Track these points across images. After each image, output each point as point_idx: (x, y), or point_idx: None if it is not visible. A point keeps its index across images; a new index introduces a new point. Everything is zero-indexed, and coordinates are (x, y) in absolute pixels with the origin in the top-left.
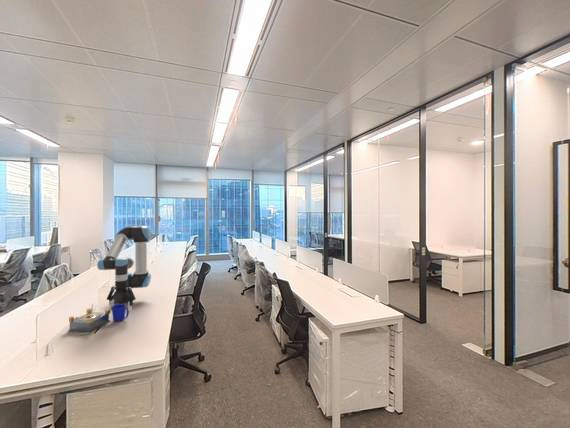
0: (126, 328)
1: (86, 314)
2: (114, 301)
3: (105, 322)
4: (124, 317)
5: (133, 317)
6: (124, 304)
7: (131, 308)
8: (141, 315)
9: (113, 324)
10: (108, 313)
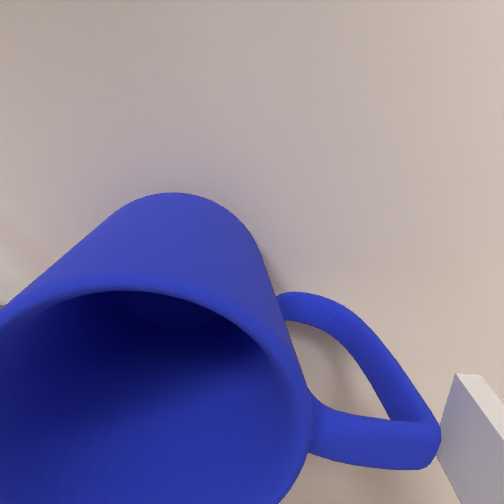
0: (442, 487)
1: None
2: None
3: None
4: (293, 308)
5: (373, 155)
6: (215, 308)
7: (493, 404)
8: (487, 53)
9: None
10: None
